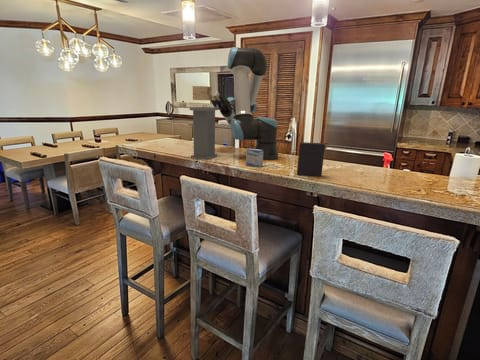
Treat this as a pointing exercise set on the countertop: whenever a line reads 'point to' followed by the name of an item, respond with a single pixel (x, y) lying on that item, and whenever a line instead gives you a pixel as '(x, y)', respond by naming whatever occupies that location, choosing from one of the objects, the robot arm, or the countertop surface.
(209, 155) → the grey tall block
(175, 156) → the countertop surface
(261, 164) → the medicine box
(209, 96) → the mallet
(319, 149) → the dark upright panel
